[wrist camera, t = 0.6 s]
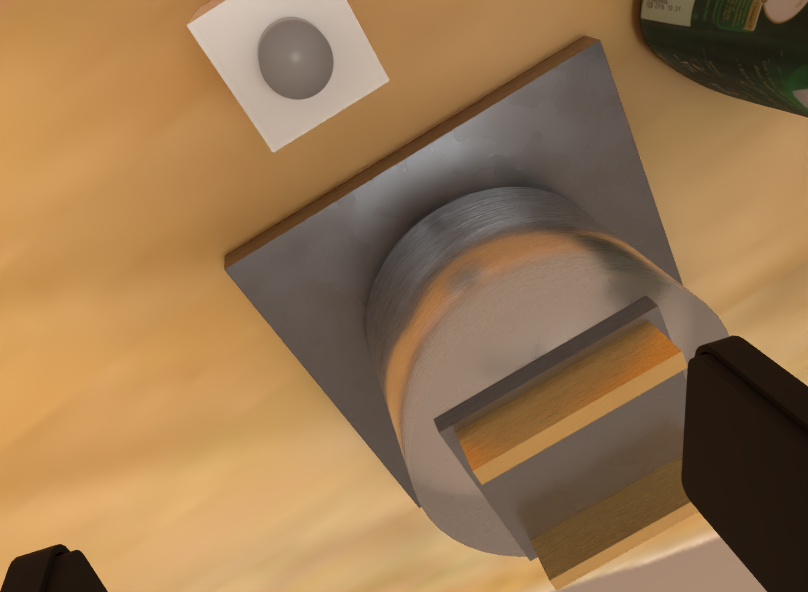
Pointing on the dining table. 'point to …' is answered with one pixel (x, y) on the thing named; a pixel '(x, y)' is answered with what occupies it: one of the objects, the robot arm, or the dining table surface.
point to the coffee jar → (735, 46)
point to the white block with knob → (288, 60)
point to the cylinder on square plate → (503, 320)
